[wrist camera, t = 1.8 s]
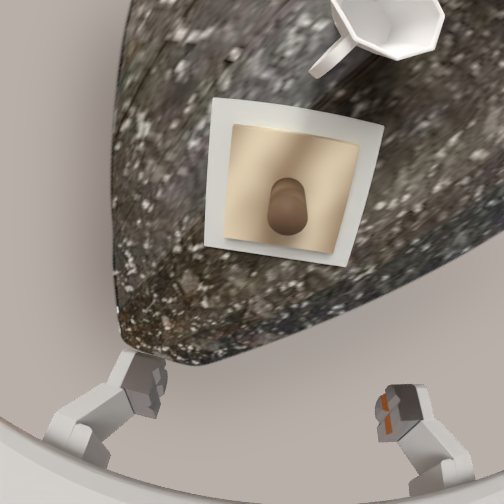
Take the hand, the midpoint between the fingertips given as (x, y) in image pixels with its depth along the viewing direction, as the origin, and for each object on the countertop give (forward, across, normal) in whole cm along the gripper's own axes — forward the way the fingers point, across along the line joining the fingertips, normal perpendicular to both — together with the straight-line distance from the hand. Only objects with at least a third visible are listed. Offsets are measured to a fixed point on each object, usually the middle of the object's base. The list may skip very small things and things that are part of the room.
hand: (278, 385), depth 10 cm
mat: (+20, 0, 0) cm, 20 cm away
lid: (+19, 0, 0) cm, 19 cm away
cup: (+20, -3, -14) cm, 24 cm away
